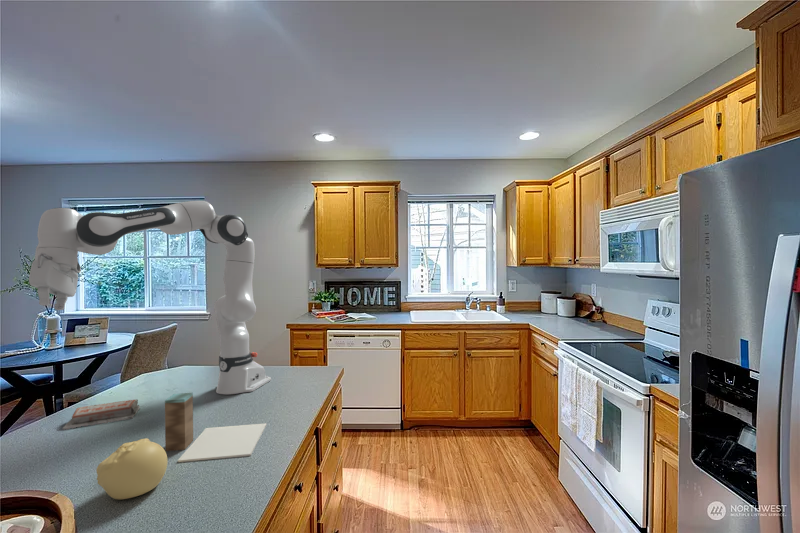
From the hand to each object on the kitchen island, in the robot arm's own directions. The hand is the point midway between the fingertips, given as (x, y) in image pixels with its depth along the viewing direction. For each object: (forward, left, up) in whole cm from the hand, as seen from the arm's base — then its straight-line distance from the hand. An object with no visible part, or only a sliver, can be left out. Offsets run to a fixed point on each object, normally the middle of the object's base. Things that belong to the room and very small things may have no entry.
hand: (52, 307), depth 98 cm
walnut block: (-12, +34, -40) cm, 54 cm away
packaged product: (-16, -7, -40) cm, 44 cm away
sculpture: (+5, +43, -40) cm, 59 cm away
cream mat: (-19, +45, -40) cm, 63 cm away
